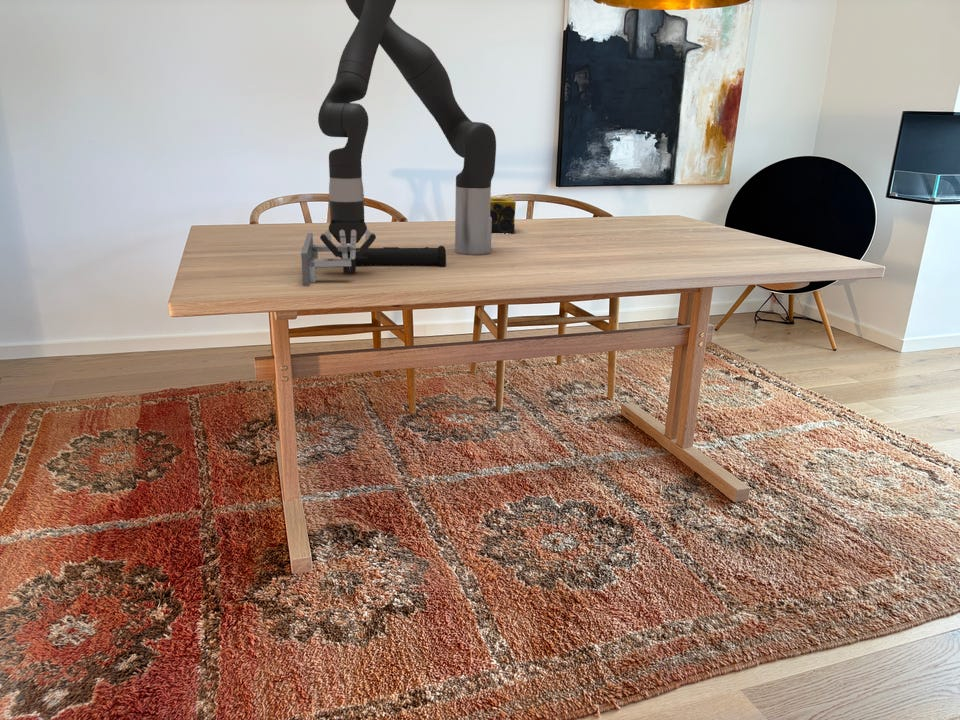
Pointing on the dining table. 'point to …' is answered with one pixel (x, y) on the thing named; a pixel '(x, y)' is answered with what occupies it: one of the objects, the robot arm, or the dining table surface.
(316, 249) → the grey u-shaped bracket
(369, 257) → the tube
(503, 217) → the black and yellow cube
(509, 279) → the dining table surface
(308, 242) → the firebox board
